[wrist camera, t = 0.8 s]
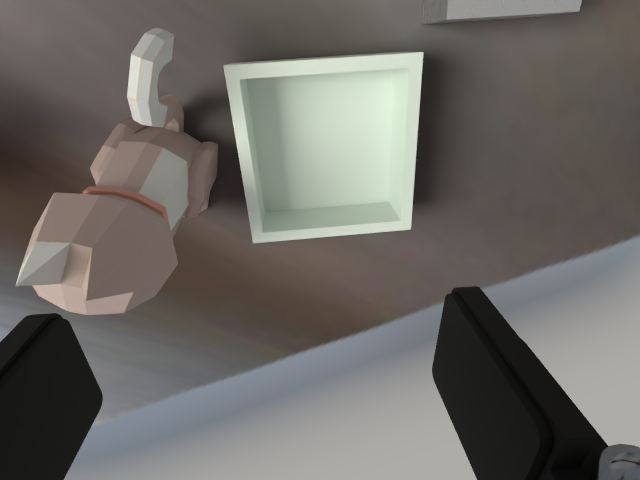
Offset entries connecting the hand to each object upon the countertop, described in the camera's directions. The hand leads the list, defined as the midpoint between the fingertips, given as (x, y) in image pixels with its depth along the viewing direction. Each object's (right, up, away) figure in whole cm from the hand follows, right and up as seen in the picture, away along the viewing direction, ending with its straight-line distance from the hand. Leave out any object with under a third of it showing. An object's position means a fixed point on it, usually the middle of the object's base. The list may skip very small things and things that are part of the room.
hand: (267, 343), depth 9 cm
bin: (+2, +12, +26) cm, 29 cm away
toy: (-12, +12, +25) cm, 30 cm away
